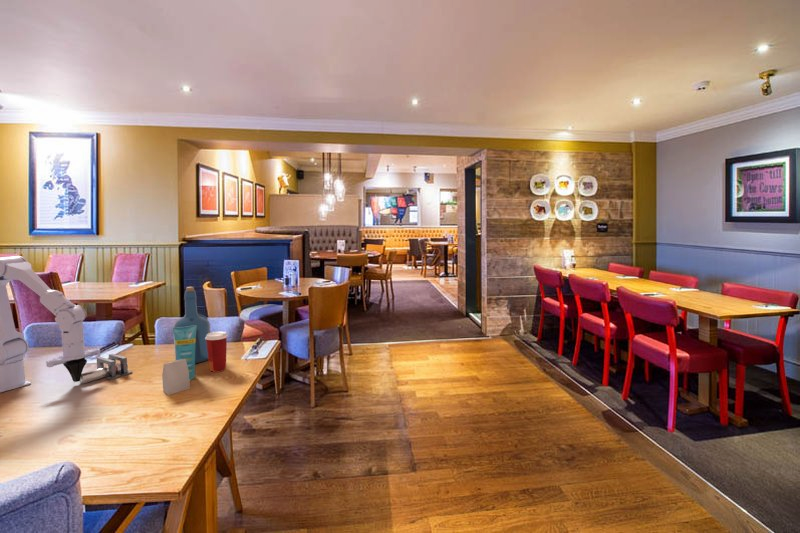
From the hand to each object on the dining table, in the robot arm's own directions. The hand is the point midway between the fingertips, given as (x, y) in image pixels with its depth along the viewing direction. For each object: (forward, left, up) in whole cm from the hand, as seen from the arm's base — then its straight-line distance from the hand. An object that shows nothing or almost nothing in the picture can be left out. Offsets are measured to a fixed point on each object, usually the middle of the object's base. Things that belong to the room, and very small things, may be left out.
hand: (76, 380), depth 133 cm
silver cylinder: (+8, 0, -1) cm, 8 cm away
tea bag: (+13, -34, -2) cm, 37 cm away
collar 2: (+13, 0, -1) cm, 13 cm away
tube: (+21, -28, -2) cm, 35 cm away
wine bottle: (+35, -12, -2) cm, 37 cm away
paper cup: (+32, -30, -2) cm, 44 cm away
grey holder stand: (+9, 0, -1) cm, 9 cm away
